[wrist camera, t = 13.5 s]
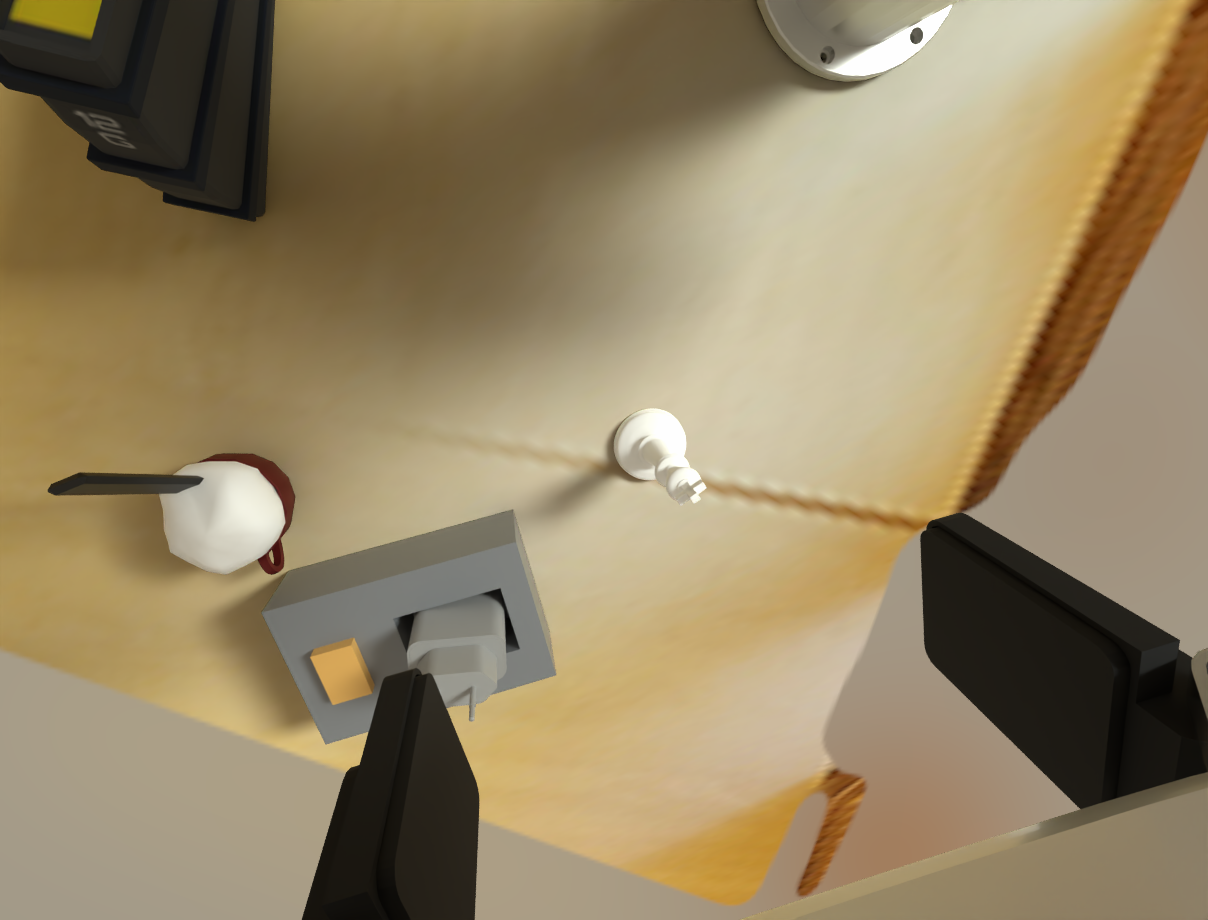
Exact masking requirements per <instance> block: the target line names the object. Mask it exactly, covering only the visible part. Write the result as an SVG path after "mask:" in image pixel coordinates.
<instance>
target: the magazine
mask: <svg viewBox="0 0 1208 920" xmlns="http://www.w3.org/2000/svg"><path fill="white" fill-rule="evenodd" d="M274 9H275V0H0V82H1V83H2V84H3V85H4V86H5V87H6V88H8V89H11V90H15V91H20V92H24V93H28V94H33V95H37V96H40V97H41V98H42V99H43V100H44V101H45V102H46V103H47V104H48V105H49V106H50V108H51V109H52V110H53V111H54V112H55V113H56V114H57V115H58V116H59V117H60V118H61V119H62V121H63V122H64V123H65V124H67V125H68V126H69V127H71V128H72V129H73V130H75V131H76V132H77V133H78V134H80V135H81V136H82V137H84V138H85V139H86V140H87V141H89V142H90V143H89V148H88V153H87V159H88V160H89V161H90V162H92V163H93V164H95V165H96V166H97V167H99V168H100V169H101V170H105V171H109V172H114V173H119V174H123V175H128V176H133V177H137V178H139V179H140V180H142V181H143V182H145V183H146V184H148V185H149V186H151V187H153V188H155V189H158V190H160V191H163V202H165V203H169V204H172V205H177V206H182V207H186V208H191V209H196V210H201V211H205V212H210V213H215V214H220V215H225V216H229V217H234V218H239V219H244V220H248V221H253V222H255V221H256V217H260V216H263V214H264V212H265V199H266V178H267V157H268V136H269V114H270V93H271V72H272V51H273V30H274Z"/></svg>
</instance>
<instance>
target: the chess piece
mask: <svg viewBox="0 0 1208 920" xmlns="http://www.w3.org/2000/svg"><path fill="white" fill-rule="evenodd" d="M685 451H686V436H685V433H684V430H683V428H682V426H681V424H680V423H679V421H678V420H677V419H676V418H675V417H674V416H673V415H671V414H670V413H668V412H666V411H664V410H660V409H644V410H640V411H638V412H635V413H633V414H632V415H630V416H629V417H628V418H627V419H625V420H624V422H623V423H622V424H621V425H620V427H619V429H618V430H617V433H616V436H615V440H614V453H615V457H616V459H617V461H618V463H619V465H620V466H621V467H622V468H623V469H624V470H625V471H626V472H627V473H629V474H630V475H632V476H633V477H635V478H638V479H642V480H657V481H658V483H659V484H661V485H662V486H664V487H666V490H667V492H668V494H669V496H670V497H671V498H672V499H674V500H676V501H677V502H678V503H679V504H680V506H681V505H683V504H684V503H686V502H687V501H689V500H691V501H692V502H693V503H696V502H697V501H699V500H700V497H699V495H698V494H699V493H700V492H702V491H703V490H705V489H706V486H705V484H704V483H703V482H702V480H701V478H700V476H699V474H698V473H697V472H696V471H695V470H694V469H692V468H689V463H688V461H687V460H686V458H684V454H685Z"/></svg>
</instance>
